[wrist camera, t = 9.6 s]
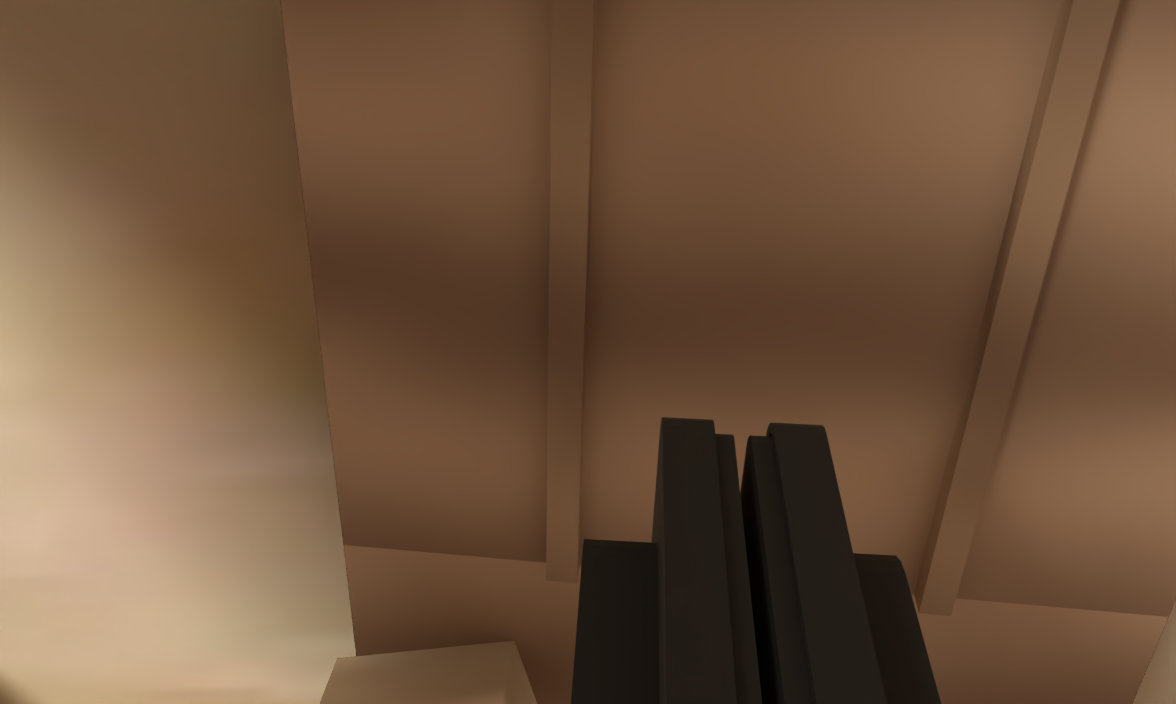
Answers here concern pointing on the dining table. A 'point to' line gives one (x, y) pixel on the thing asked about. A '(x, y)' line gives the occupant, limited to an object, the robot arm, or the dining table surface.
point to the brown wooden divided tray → (752, 303)
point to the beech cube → (433, 677)
